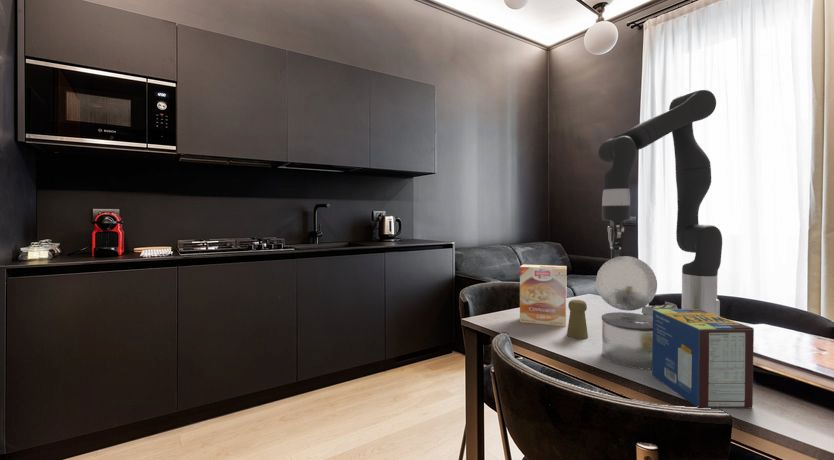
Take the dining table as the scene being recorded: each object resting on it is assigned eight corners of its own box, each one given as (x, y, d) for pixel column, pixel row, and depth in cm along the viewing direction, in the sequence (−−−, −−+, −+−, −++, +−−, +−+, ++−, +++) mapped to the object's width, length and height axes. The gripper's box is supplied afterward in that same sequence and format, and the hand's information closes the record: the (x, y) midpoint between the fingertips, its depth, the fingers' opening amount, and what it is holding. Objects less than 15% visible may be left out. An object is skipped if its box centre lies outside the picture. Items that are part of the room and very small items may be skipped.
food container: (662, 346, 107) (663, 310, 106) (641, 339, 112) (641, 306, 112) (687, 338, 112) (687, 305, 112) (665, 333, 118) (666, 301, 117)
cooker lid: (658, 312, 102) (655, 311, 105) (656, 256, 104) (653, 257, 107) (596, 308, 107) (595, 308, 110) (596, 255, 109) (595, 256, 111)
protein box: (696, 374, 88) (697, 308, 87) (753, 409, 72) (755, 328, 72) (650, 374, 88) (651, 308, 87) (697, 408, 72) (699, 328, 72)
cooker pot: (656, 351, 103) (657, 314, 102) (673, 372, 89) (674, 330, 89) (598, 345, 107) (598, 310, 107) (605, 365, 94) (605, 325, 93)
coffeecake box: (519, 322, 131) (519, 266, 130) (522, 317, 138) (522, 263, 137) (566, 327, 125) (566, 268, 125) (566, 321, 132) (566, 265, 131)
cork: (590, 339, 113) (590, 302, 112) (568, 338, 114) (568, 302, 113) (585, 333, 118) (585, 298, 118) (565, 332, 120) (565, 297, 119)
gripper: (634, 203, 108) (633, 264, 108) (625, 204, 120) (624, 259, 121) (605, 204, 110) (604, 263, 111) (599, 205, 123) (598, 258, 123)
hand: (615, 261), depth 116 cm, fingers closed
